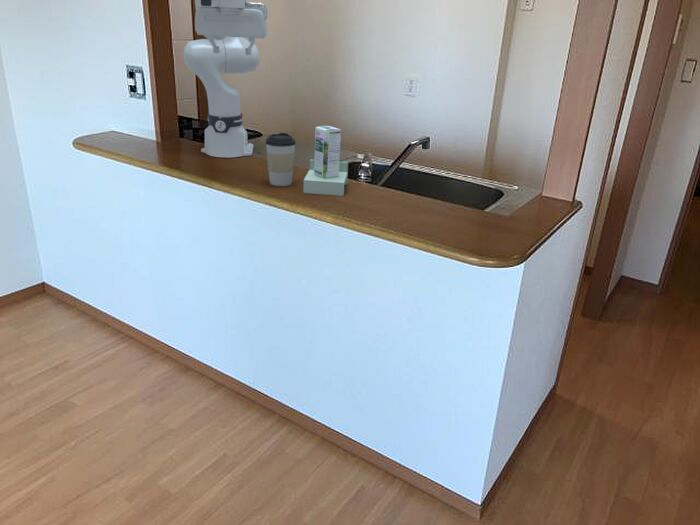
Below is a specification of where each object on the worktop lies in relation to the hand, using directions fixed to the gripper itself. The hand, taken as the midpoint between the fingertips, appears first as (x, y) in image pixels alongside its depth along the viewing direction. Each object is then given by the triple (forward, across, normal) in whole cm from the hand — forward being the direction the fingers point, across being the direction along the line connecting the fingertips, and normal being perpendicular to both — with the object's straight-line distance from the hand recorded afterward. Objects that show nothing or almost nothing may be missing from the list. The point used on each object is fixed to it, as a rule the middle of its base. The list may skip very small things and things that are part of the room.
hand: (232, 53), depth 160 cm
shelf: (+37, -29, +3) cm, 47 cm away
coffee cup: (+37, -14, +1) cm, 40 cm away
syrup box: (+33, -29, +3) cm, 44 cm away
